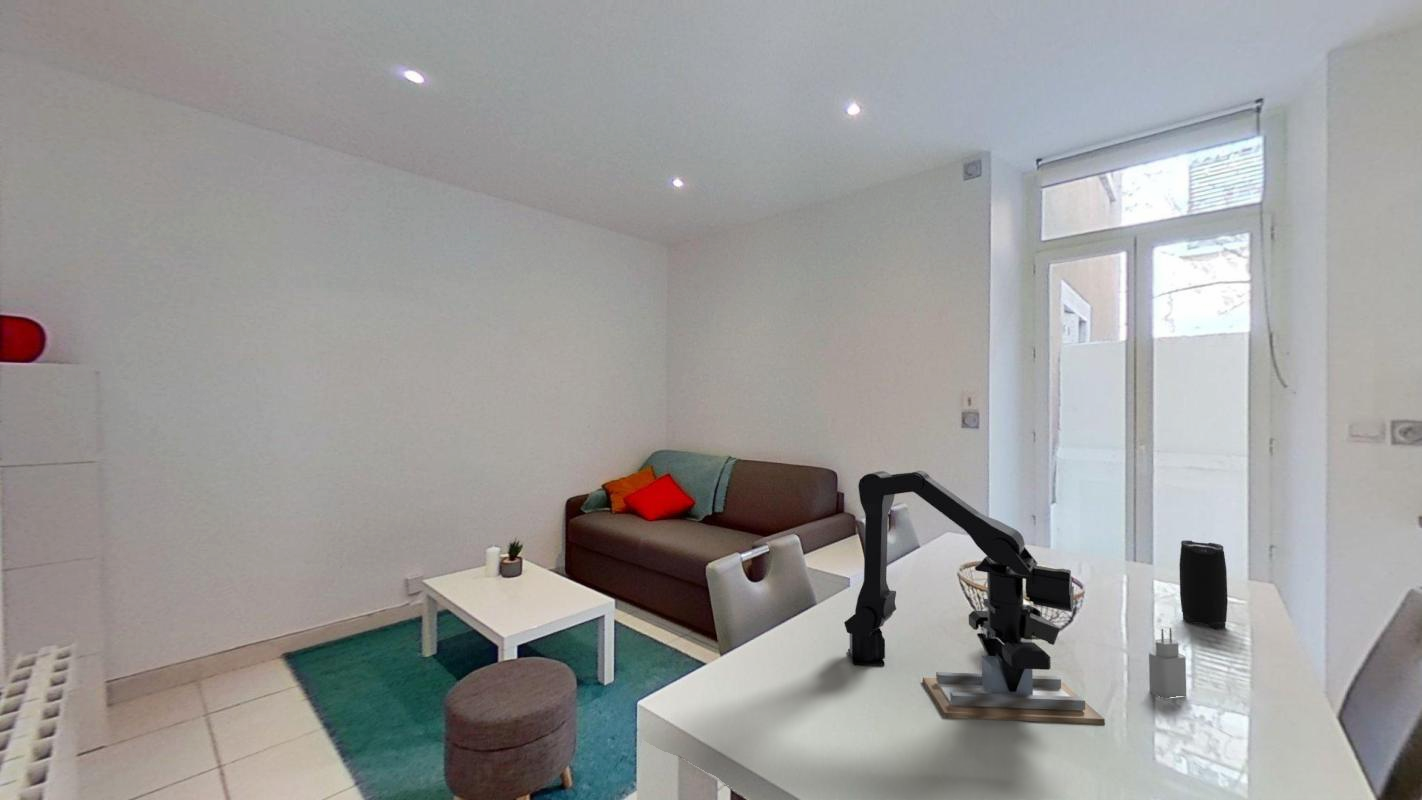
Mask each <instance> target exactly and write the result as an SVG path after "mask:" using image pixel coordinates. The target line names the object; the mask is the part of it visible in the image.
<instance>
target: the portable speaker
mask: <svg viewBox="0 0 1422 800" xmlns="http://www.w3.org/2000/svg"><path fill="white" fill-rule="evenodd" d="M1180 544H1181V545H1180V554H1179V566H1178V567H1179V596H1180V597H1179V598H1180V606H1181V612H1182V620H1183V621H1184V622H1185V623H1188V624H1189V625H1193V624H1195V623H1198V624H1201V625H1206V626H1209V628H1210V629H1212V630H1223V629H1225V628H1226V623H1227V614H1228V599H1229V598H1228V579H1227V578H1228V577H1227V576H1228V575H1227V573H1228V571H1227V563H1226V557H1225V551H1224V546H1223V545H1221V544H1219V543H1215V542H1208V543H1207V542H1206V543H1205V542H1198V541H1197V542H1196V541H1192V540H1189V539H1188V540H1181V541H1180Z"/></svg>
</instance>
